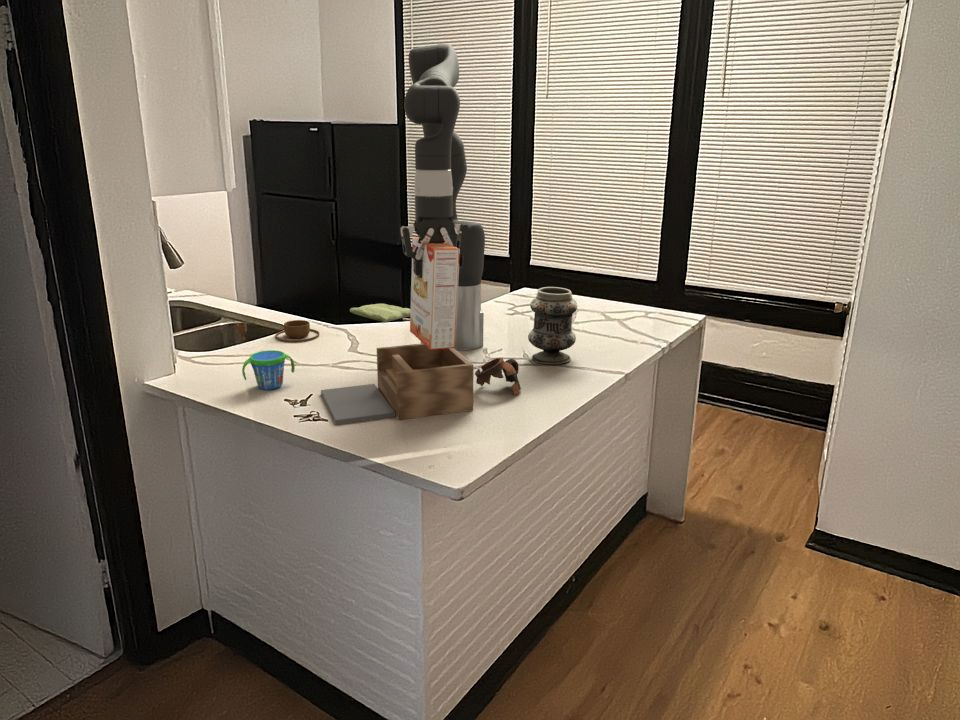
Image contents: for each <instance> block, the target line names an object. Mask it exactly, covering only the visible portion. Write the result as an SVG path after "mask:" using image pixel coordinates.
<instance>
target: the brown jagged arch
mask: <svg viewBox="0 0 960 720" xmlns="http://www.w3.org/2000/svg"><path fill="white" fill-rule="evenodd" d="M518 373H519V363H518V361H517V360H516V359H514V358H508V359H507V360H504V358H503V357H496V358H493V359H491V360H488V362H486V363H484V364H482V365H481V366H480V368H478V369H477V370H475V372H474V375H475V376H476V381H475V382H476V384H477V385H479V386H481V387H484V385H485V384H487V385H491V378H492V377H493V378H498V379H503V378H504V377H505V381H506V382H508V383H513V384H512V385H511V386H510V389H511V390H512V394H513V396H515V395H517V394H518V393H519V392H520V391H521V389H522V388H521V384H520V382H519V378H518Z"/></svg>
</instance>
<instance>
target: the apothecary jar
mask: <svg viewBox="0 0 960 720" xmlns="http://www.w3.org/2000/svg"><path fill="white" fill-rule="evenodd" d="M572 294H573V293H572V291H571V290H570V289H568V288H566V287H565V288H564V287H558V286H545V287H539V288H538V289H537V293H536V296H535V297H533V298H532V299H531V301H530V304H529V306H530V309H531V310H532V311H533V313H534V318H533V319H534V320H533V327H532V329H530V331H529V333H528V335H527V336H528V337H527V339H528V342H529V343H530V344H531V345H532V346H533V347H534V348H537V349H539V350H542V351H539V352H536V353H534V354H533V355H532V356H531V359H532V360H533V361H534V362H536V363H539V364H542V365H554V366H555V365H563V364H567V363H569V362H570V361H571V356H570V355H569V354H567V353H565V352H563V351H564V350H567V349H570V348H572V346H574V344H575V343H576V340H577V337H576V334H575V333H574V331H573V329H572V327H573V324H572V322H573V314H574V313H576V312H577V310H578V302H577V301H576V299H574V298H573V295H572Z"/></svg>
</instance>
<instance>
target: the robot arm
mask: <svg viewBox="0 0 960 720" xmlns="http://www.w3.org/2000/svg"><path fill="white" fill-rule="evenodd" d="M459 66H460V64H459V57H458V55H457V51H456V49H455V47H453V45H451V44H448V43H437V44H433V45H432V44H431V45H428V46H427V45H426V46H421V47H415V48H411V50H409V53H408V67H409V72H410V77H411V81H412V84H411V86H410V87H409V88H408V89H407V91H406V93H405V97H404V102H403V108H404V113H405V116H406V117H407V119H408V120H409V121H410V122H411V123H412V124H416V125H421V126H422V132H423V137H422V138H419V139H417V140H416V142H415V145H414V158H415V159H414V161H415V162H414V163H415V164H414V167H415V174H414V217H415V219H414V223H413V224H412V225H409V226H408V225H407V226H404V225H401V226H400V228H399V230H400V238H401V245H402V251H403V252H402V253H403V254H404V255H405V257H407V258H411V259H412V258H413V269H414V274H415V275H417V277H418V278H422V272H423V268H422V260H421V257H422V255H423V252H424V250H425V246H426V245H428V243H445V244H448V245H452V246H454V247H457V248H459V249H460V258H462V263H461V266H459V278H458V298H457V318H456V339H455V348H454V349H455V350H457V351H471V350H476V349H478V348H481V347H484V325H485V324H484V321H485V320H484V316H485V315H484V312H483V311H482V277H483V273H484V267H485V266H484V265H485V263H484V261H485V250H486V249H485V248H486V244H485V243H486V236H485V235H486V234H485V230H484V227H483V226H482V224H481V223H479V222H475V221H465V220H459V218H458V214H457V199H458V196H459V193H460V190H461V188H462V186H463V184H464V181H465V178H466V175H467V172H468V171H467V170H468V165H467V159H466V158H467V157H466V152H465V146H464V145H465V144H464V142H463V140H462V138H461V137H460V136H459V134H458V133H457V131H456V130H455V126H456V122H457V119H458V115H459V113H460V107H461V99H460V96H459V93H458V91H457V89H456V88H454V87H455V86H457V84H458V82H459V79H460V67H459ZM414 232H415V234H416V235H417V236H418V237H417V238H418V240H417V243H416V247H415V249H414V251H412V241H411V240H412V239H411V238H412V237H413V233H414Z"/></svg>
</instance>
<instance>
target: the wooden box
mask: <svg viewBox="0 0 960 720" xmlns="http://www.w3.org/2000/svg"><path fill="white" fill-rule="evenodd" d="M392 355H400V356H401V358H402V359H403V360H404V361H405V362H406V363H407V364H408V365H409V366H410V367H411V368H412V370H409V371H400V372H396V379H397V387H396V385H395V384H394V383H393V382H392V380H391V379H390V378H389V376H388V375H387V374H386V369H390V368H392ZM376 368H377V369H376V370H377V371H376V372H377V388H378V389H379V391H380V392H381V394H382V395H383V396H384V398H385V399H386V401H387V402H388V403H389V405H390V406H391V408H392V409H393V410H394V412H395V417H396V418H397V420H398V421H403V420H411V419H418V418H424V417H433V416H439V415H448V414H454V413H462V412H469V411H470V412H471V411H474V364H473V363H472V362H470V360H468V359H467V358H466V357H465V356H464V355H463V354H461V353H460V352H459V350H456V349H454V348H450V349H437V350H430V349H429V348H428V347H427V346H426V345H424V344H423V343H422V344H421V343H413V344H404V345H403V344H402V345H394V346H393V345H391V346H385V347H384V346H383V347H376Z"/></svg>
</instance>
